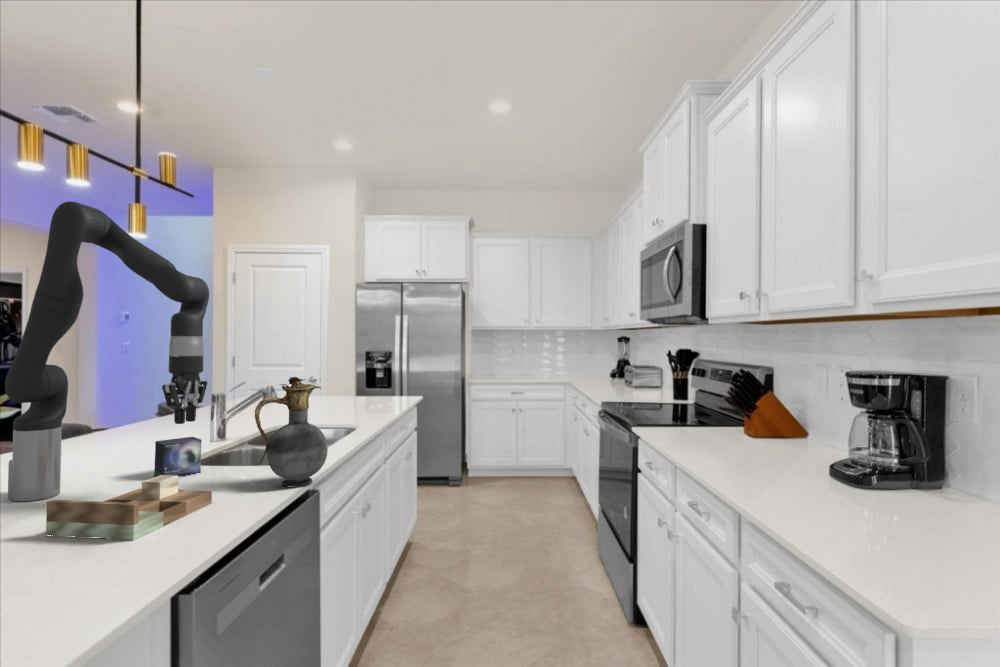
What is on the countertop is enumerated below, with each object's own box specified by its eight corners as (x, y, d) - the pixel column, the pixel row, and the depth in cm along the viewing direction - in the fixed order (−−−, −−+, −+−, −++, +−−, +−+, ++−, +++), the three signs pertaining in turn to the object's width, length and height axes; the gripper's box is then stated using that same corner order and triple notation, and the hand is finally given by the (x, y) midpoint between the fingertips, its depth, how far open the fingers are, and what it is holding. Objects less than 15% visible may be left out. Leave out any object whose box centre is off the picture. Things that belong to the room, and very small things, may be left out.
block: (141, 499, 120) (141, 481, 120) (160, 491, 126) (161, 475, 126) (159, 499, 120) (160, 482, 120) (178, 492, 126) (178, 475, 126)
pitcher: (331, 484, 145) (333, 376, 145) (257, 495, 134) (259, 379, 134) (320, 475, 154) (321, 374, 154) (249, 485, 143) (251, 376, 143)
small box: (162, 480, 147) (162, 443, 147) (153, 477, 151) (153, 441, 151) (201, 473, 155) (202, 438, 156) (192, 470, 159) (192, 436, 160)
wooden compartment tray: (45, 536, 105) (46, 501, 105) (139, 500, 129) (139, 472, 129) (133, 540, 103) (134, 504, 103) (211, 503, 127) (212, 474, 127)
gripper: (191, 353, 139) (190, 418, 138) (151, 354, 125) (149, 426, 124) (218, 353, 138) (216, 418, 138) (180, 355, 124) (179, 427, 124)
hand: (185, 422), depth 131 cm, fingers open, 3 cm apart
